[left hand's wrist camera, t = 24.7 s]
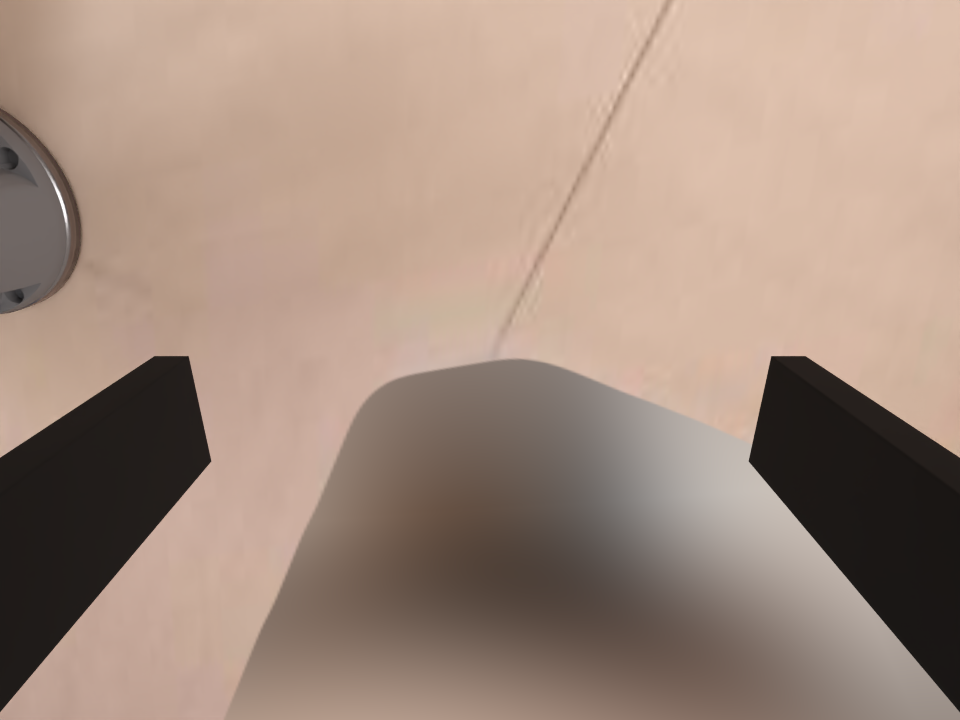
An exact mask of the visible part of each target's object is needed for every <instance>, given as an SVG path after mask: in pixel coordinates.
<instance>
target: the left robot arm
mask: <svg viewBox="0 0 960 720" xmlns="http://www.w3.org/2000/svg"><path fill="white" fill-rule="evenodd" d="M80 243H81V227H80V219H79V213H78V209H77V205H76V202H75V199H74V196H73V193H72V190H71V188H70V186H69V184H68V181H67V179H66V178H65V176H64V174H63V172H62V170H61V169H60V167H59V165H58V164H57V162H56V161H55V159H54V158H53V157H52V155H51V154H50V153H49V151H48V150H47V149H46V148H45V146H44V145H43V144H42V143H41V142H40V141H39V140H38V139H37V138H36V137H35V136H34V135H33V134H32V133H31V132H30V131H29V130H28V129H27V128H26V127H25V126H24V125H23V124H21V123H20V122H19V121H18V120H16V119H15V118H14V117H12V116H11V115H10V114H8V113H7V112H5V111H3V110H2V109H0V314H4V313H10V312H14V311H17V310H21V309H24V308H26V307H29V306H32V305H35V304H37V303H39V302H42V301H44V300H45V299H47V298H49V297H51V296H52V295H53V294H55V293H56V292H57V291H58V290H59V289H60V288H61V287H62V286H63V285H64V284H65V283H66V281H67V280H68V279H69V277H70V275H71V274H72V272H73V270H74V267H75V265H76V262H77V259H78V256H79V250H80ZM210 462H211V458H210V453H209V449H208V444H207V439H206V435H205V430H204V425H203V421H202V416H201V412H200V407H199V402H198V398H197V393H196V389H195V384H194V379H193V375H192V370H191V365H190V361H189V356H154V357H153V358H151V359H150V360H148V361H147V362H145V363H144V364H142V365H141V366H139V367H137V368H136V369H134V370H133V371H131V372H130V373H128V374H127V375H125V376H124V377H122V378H121V379H119V380H118V381H116V382H115V383H113V384H112V385H110V386H109V387H107V388H106V389H104V390H103V391H101V392H99V393H98V394H96V395H95V396H93V397H92V398H90V399H89V400H87V401H86V402H84V403H83V404H81V405H80V406H78V407H77V408H75V409H74V410H72V411H71V412H69V413H68V414H66V415H65V416H63V417H61V418H60V419H58V420H57V421H55V422H54V423H52V424H51V425H49V426H48V427H46V428H45V429H43V430H42V431H40V432H39V433H37V434H36V435H34V436H33V437H31V438H30V439H28V440H27V441H25V442H23V443H22V444H20V445H19V446H17V447H16V448H14V449H13V450H11V451H10V452H8V453H7V454H5V455H4V456H2V457H1V458H0V712H1V710H2V709H3V708H4V707H5V706H6V704H7V703H8V702H9V701H10V700H11V699H12V697H13V696H14V695H15V694H16V693H17V691H18V690H19V689H20V688H21V687H22V685H23V684H24V683H25V682H26V681H27V680H28V678H29V677H30V676H31V675H32V674H33V672H34V671H35V670H36V669H37V668H38V666H39V665H40V664H41V663H42V662H43V661H44V659H45V658H46V657H47V656H48V655H49V653H50V652H51V651H52V650H53V649H54V647H55V646H56V645H57V644H58V643H59V642H60V640H61V639H62V638H63V637H64V636H65V634H66V633H67V632H68V631H69V630H70V628H71V627H72V626H73V625H74V624H75V623H76V621H77V620H78V619H79V618H80V617H81V615H82V614H83V613H84V612H85V611H86V609H87V608H88V607H89V606H90V605H91V604H92V602H93V601H94V600H95V599H96V598H97V596H98V595H99V594H100V593H101V592H102V590H103V589H104V588H105V587H106V586H107V585H108V583H109V582H110V581H111V580H112V579H113V577H114V576H115V575H116V574H117V573H118V571H119V570H120V569H121V568H122V567H123V566H124V564H125V563H126V562H127V561H128V560H129V558H130V557H131V556H132V555H133V554H134V552H135V551H136V550H137V549H138V548H139V547H140V545H141V544H142V543H143V542H144V541H145V539H146V538H147V537H148V536H149V535H150V533H151V532H152V531H153V530H154V529H155V528H156V526H157V525H158V524H159V523H160V522H161V520H162V519H163V518H164V517H165V516H166V514H167V513H168V512H169V511H170V510H171V509H172V507H173V506H174V505H175V504H176V503H177V501H178V500H179V499H180V498H181V497H182V495H183V494H184V493H185V492H186V491H187V490H188V488H189V487H190V486H191V485H192V484H193V482H194V481H195V480H196V479H197V478H198V476H199V475H200V474H201V473H202V472H203V471H204V469H205V468H206V467H207V466H208V465H209V463H210ZM749 462H750V463H751V465H752V466H753V467H754V468H755V469H756V471H757V472H758V473H759V474H760V475H761V476H762V478H763V479H764V480H765V481H766V482H767V484H768V485H769V486H770V487H771V488H772V490H773V491H774V492H775V493H776V494H777V495H778V497H779V498H780V499H781V500H782V501H783V503H784V504H785V505H786V506H787V507H788V509H789V510H790V511H791V512H792V513H793V514H794V516H795V517H796V518H797V519H798V520H799V522H800V523H801V524H802V525H803V526H804V528H805V529H806V530H807V531H808V532H809V533H810V535H811V536H812V537H813V538H814V539H815V541H816V542H817V543H818V544H819V545H820V546H821V548H822V549H823V550H824V551H825V552H826V554H827V555H828V556H829V557H830V558H831V560H832V561H833V562H834V563H835V564H836V566H837V567H838V568H839V569H840V570H841V571H842V573H843V574H844V575H845V576H846V577H847V579H848V580H849V581H850V582H851V583H852V585H853V586H854V587H855V588H856V589H857V590H858V592H859V593H860V594H861V595H862V596H863V598H864V599H865V600H866V601H867V602H868V603H869V605H870V606H871V607H872V608H873V609H874V611H875V612H876V613H877V614H878V615H879V617H880V618H881V619H882V620H883V621H884V623H885V624H886V625H887V626H888V627H889V628H890V630H891V631H892V632H893V633H894V634H895V636H896V637H897V638H898V639H899V640H900V642H901V643H902V644H903V645H904V646H905V647H906V649H907V650H908V651H909V652H910V653H911V654H912V656H913V657H914V658H915V659H916V661H917V662H918V663H919V664H920V665H921V666H922V668H923V669H924V670H925V671H926V672H927V673H928V675H929V676H930V677H931V678H932V679H933V681H934V682H935V683H936V684H937V685H938V687H939V688H940V689H941V690H942V691H943V693H944V694H945V695H946V696H947V697H948V699H949V700H950V701H951V702H952V703H953V704H954V706H955V707H956V708H957V709H958V710H959V712H960V458H959V457H958V456H956V455H955V454H953V453H952V452H950V451H949V450H947V449H946V448H944V447H943V446H941V445H940V444H938V443H937V442H935V441H933V440H932V439H930V438H929V437H927V436H926V435H924V434H923V433H921V432H920V431H918V430H917V429H915V428H914V427H912V426H911V425H909V424H908V423H906V422H905V421H903V420H902V419H900V418H899V417H897V416H895V415H894V414H892V413H891V412H889V411H888V410H886V409H885V408H883V407H882V406H880V405H879V404H877V403H876V402H874V401H873V400H871V399H870V398H868V397H867V396H865V395H864V394H862V393H861V392H859V391H857V390H856V389H854V388H853V387H851V386H850V385H848V384H847V383H845V382H844V381H842V380H841V379H839V378H838V377H836V376H835V375H833V374H832V373H830V372H829V371H827V370H826V369H824V368H823V367H821V366H819V365H818V364H816V363H815V362H813V361H812V360H810V359H809V358H807V357H806V356H771V361H770V365H769V370H768V375H767V379H766V384H765V388H764V393H763V398H762V402H761V407H760V412H759V416H758V421H757V425H756V430H755V435H754V439H753V444H752V449H751V453H750V458H749Z"/></svg>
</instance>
